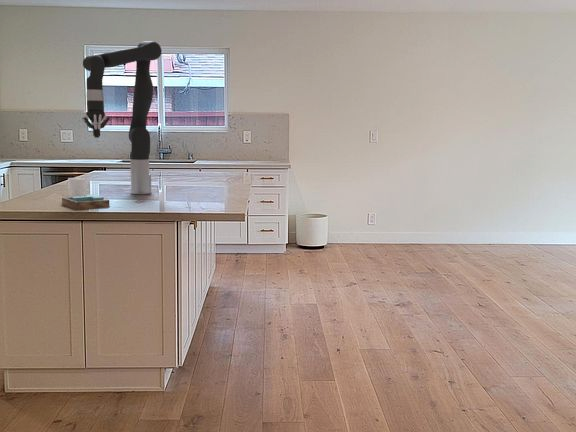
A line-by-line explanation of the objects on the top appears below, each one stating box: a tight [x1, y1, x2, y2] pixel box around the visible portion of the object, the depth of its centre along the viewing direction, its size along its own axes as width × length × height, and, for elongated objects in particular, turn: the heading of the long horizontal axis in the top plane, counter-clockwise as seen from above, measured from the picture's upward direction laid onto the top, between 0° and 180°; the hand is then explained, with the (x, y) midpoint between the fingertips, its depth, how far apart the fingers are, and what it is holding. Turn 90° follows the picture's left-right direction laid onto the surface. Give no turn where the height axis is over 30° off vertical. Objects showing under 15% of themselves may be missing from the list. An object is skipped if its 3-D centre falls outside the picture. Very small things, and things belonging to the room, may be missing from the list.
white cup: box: [67, 177, 87, 197], centre depth 282 cm, size 8×8×10 cm
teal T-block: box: [71, 194, 105, 202], centre depth 266 cm, size 11×12×4 cm
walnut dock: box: [61, 196, 111, 210], centre depth 266 cm, size 14×17×3 cm
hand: (96, 137), depth 287 cm, fingers closed
